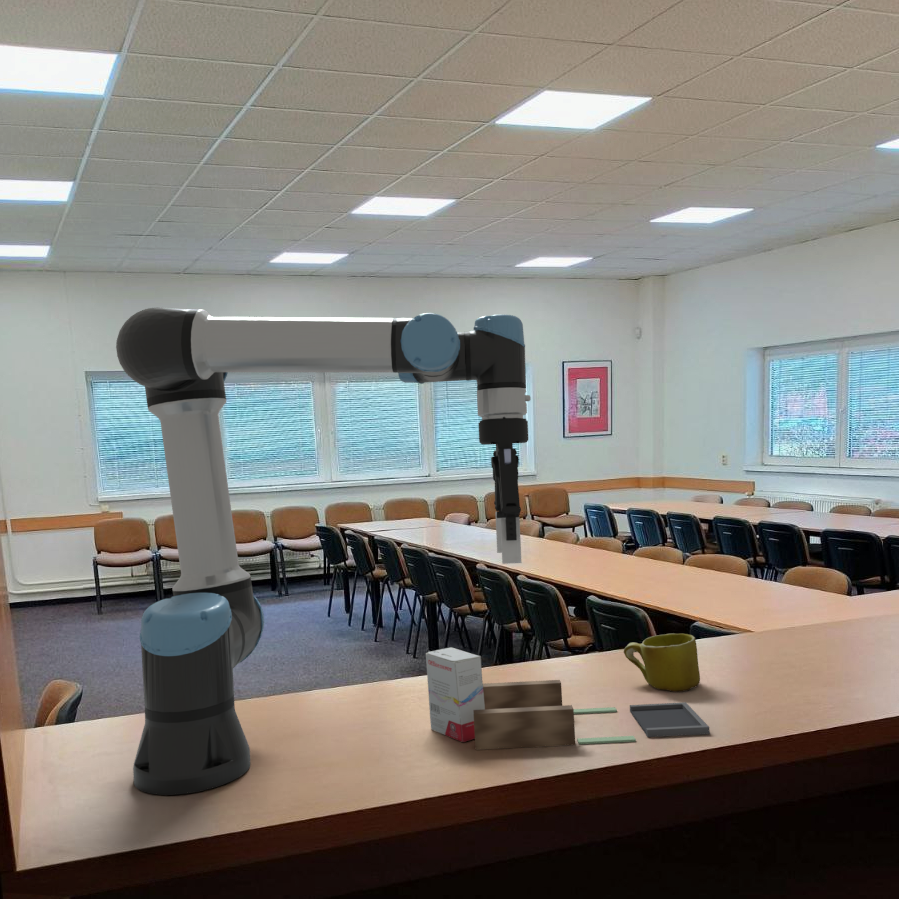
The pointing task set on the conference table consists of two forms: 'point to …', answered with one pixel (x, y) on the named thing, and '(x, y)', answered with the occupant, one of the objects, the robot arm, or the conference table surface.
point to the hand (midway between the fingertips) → (508, 557)
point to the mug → (667, 661)
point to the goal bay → (602, 739)
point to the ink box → (454, 692)
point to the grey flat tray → (668, 719)
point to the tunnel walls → (523, 716)
